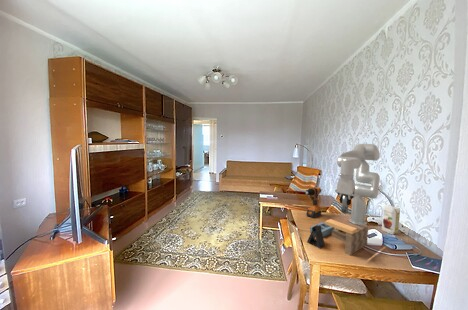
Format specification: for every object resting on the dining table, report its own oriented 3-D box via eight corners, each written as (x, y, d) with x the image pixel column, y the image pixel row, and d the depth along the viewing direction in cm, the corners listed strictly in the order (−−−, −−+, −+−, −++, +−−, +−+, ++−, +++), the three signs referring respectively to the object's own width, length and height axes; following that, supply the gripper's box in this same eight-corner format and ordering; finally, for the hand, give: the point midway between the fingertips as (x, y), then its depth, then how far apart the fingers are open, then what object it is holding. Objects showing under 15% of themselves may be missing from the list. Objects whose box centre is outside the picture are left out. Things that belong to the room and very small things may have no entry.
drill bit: (343, 210, 134) (344, 193, 133) (349, 212, 131) (350, 194, 130) (340, 211, 132) (341, 194, 131) (346, 213, 128) (347, 195, 127)
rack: (322, 228, 148) (322, 221, 147) (334, 233, 140) (334, 226, 140) (309, 233, 139) (310, 226, 138) (321, 239, 131) (322, 232, 131)
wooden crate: (339, 233, 140) (340, 216, 138) (367, 245, 125) (369, 225, 124) (320, 242, 126) (321, 223, 125) (350, 256, 112) (351, 235, 111)
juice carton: (386, 228, 149) (388, 204, 148) (399, 233, 141) (401, 208, 140) (380, 230, 147) (382, 205, 145) (392, 235, 139) (395, 209, 137)
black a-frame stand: (325, 245, 123) (326, 227, 122) (320, 248, 120) (321, 229, 119) (311, 239, 130) (312, 222, 129) (306, 242, 127) (307, 224, 126)
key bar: (330, 222, 127) (330, 219, 127) (356, 231, 114) (357, 228, 114) (325, 224, 124) (325, 221, 124) (351, 234, 111) (352, 231, 111)
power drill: (309, 220, 162) (311, 190, 160) (301, 217, 168) (303, 189, 166) (322, 214, 175) (324, 187, 173) (314, 212, 181) (316, 185, 179)
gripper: (331, 175, 134) (330, 201, 136) (357, 179, 120) (356, 208, 122) (337, 174, 138) (335, 199, 140) (363, 178, 125) (361, 206, 126)
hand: (345, 203), depth 131 cm, fingers closed on drill bit, 4 cm apart
